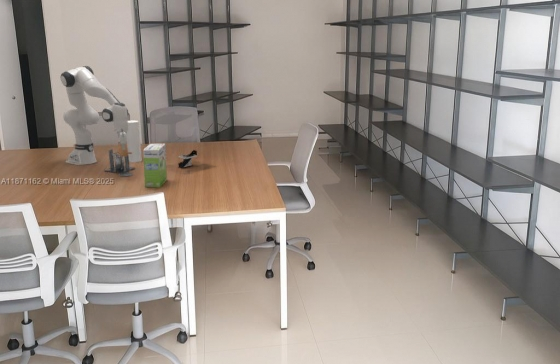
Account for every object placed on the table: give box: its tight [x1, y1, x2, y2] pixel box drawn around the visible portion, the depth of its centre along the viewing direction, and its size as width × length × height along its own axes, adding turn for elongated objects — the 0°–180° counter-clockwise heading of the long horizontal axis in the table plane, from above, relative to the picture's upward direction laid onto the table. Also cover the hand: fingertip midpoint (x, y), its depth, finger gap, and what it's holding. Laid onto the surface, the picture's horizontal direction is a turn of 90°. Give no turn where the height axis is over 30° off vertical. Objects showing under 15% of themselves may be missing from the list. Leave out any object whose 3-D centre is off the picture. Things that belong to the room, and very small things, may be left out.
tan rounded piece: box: [114, 141, 132, 157], centre depth 350 cm, size 11×6×9 cm, turn 84°
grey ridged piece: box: [104, 149, 136, 175], centre depth 365 cm, size 15×14×14 cm
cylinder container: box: [126, 119, 143, 163], centre depth 389 cm, size 9×9×30 cm
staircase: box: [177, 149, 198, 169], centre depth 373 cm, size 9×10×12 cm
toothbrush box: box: [142, 143, 168, 188], centre depth 333 cm, size 18×10×24 cm, turn 178°
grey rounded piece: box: [118, 171, 134, 178], centre depth 356 cm, size 9×9×1 cm
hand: (123, 148), depth 350 cm, fingers closed on tan rounded piece, 6 cm apart
